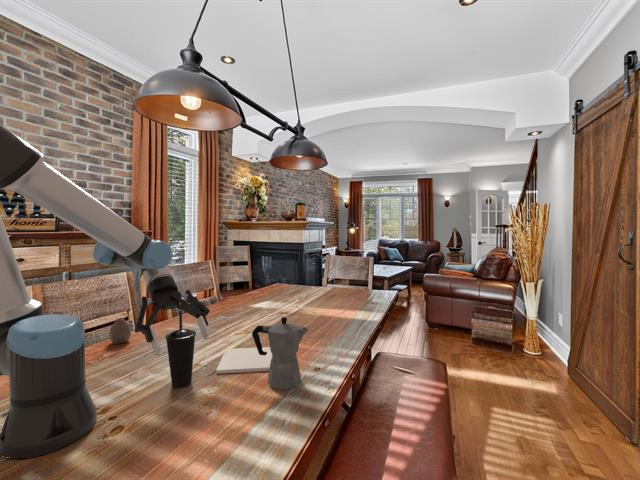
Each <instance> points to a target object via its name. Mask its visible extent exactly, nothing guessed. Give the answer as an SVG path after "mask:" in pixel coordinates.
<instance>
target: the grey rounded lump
mask: <svg viewBox="0 0 640 480" xmlns="http://www.w3.org/2000/svg"><path fill="white" fill-rule="evenodd" d="M131 335H132V328H131V325H130V324H129V322H127V321H126V319H124V318H123V317H121V318H116V319H115V321H114V323H112V325H111V326H110V328H109V331H108V337H109V340H110V342H111V343H113V344H114V345H120V344H121V343H122V344H125V343H127V341H129V339H130V338H131ZM124 342H125V343H124Z"/></svg>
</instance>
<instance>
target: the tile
mask: <svg viewBox="0 0 640 480" xmlns="http://www.w3.org/2000/svg"><path fill="white" fill-rule="evenodd" d="M262 350H263V351H264V352H267V354H266V355H259V353H258V350H257V347H242V348H241V347H239V348H226V349H225V351H224V353H223V355H222V357H221V359H220V361H219V363H218V366H217V367H216V370H215V374H232V373H250V372H251V373H253V372H254V373H255V372H267V371H268V372H269V369H270V363H271V359H272V353H271V350H270V346H262Z"/></svg>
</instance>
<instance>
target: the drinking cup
mask: <svg viewBox="0 0 640 480" xmlns="http://www.w3.org/2000/svg"><path fill="white" fill-rule="evenodd" d="M178 316H179V319H178V321H179V323H178V324H179V328H178V329H174V330H172V331H171V332H169V333H167V334H166V335H165V336H164V339H165V341H166V346H167V347H166V348H167V355H168V364H169V370H170V381H171V387H172V388H175V389H181V388H186V387H188V386H190V385H191V383H192V379H193V366H194V352H195V341H196V340H195V339H196V335H197V331H196V330H193V329H189V328H183V310H179V311H178Z"/></svg>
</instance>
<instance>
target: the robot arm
mask: <svg viewBox="0 0 640 480" xmlns="http://www.w3.org/2000/svg"><path fill="white" fill-rule="evenodd" d="M0 190H11V191H14V192H15V193H17V194H19V195H20V196H22V197H24V198H25V199H27V200H29V201H30V202H32V203H34V204H35V205H37V206H38V207H41V208H42V209H43V210H45V211H47V212H48V213H49V214H52V215H53V216H55V217H56V218H59V219H60V220H62V221H63V222H66V223H67V224H68V225H71V226H72V227H73V228H75V229H77V230H79V231H80V232H82V233H83V234H85V235H87V236H89V237H90V238H92V239H93V240H95V241H97V242H95V244H94V246H93V251H92V255H93V256H92V258H93V260H94V261H95V262H96V263H98V264H101V265H106V266H116V267H122V268H131V269H138V270H140V272H141V275H142V278H143V280H144V283H145V285H146V288H147V291H148V294H149V297H147V296H142V297H141V299H140V301H139V308H140V310H139V314H138V315H137V319H136V323H135V326H134V330H133V331H134V333H136V334H137V333H141V335H144V337H145V338H144V339H145V341H146V342H147V343H148V344H149V343H150V344H151V346H152V349H153V352H154V355H159V354H160V351H161V350H162V346H161V344H160V341H159V339H158V336H157V332H156V330H155V326H152V324H153V323H154V321H155V319H156V317H157V316H158V314H159V313H160V311H161V310H162V311H163V312H166V311H168V310H175V309H178V310H179V311H182V312H185V313H186V314H189V315H190V316H192V317H194V318H196V323H197V325H198V328H199V330H200V332H201V335H202V337H203V339H204V340H205V341H207V340H208V339H209V337H210V336H211V332H210V329H209V322H208V320H207V317H208V315H209V313H210V311H211V310H210V309H209V308H208V307H206V305H204V304H203V303H202V302H201V301H200V300H199V299H198V298H197V297H195V296H194V295H193V294H192V292H191V291H190V289H186V290H185V292H180V291H179V289H178V285H177V283H176V280H175V278H174V275H173V273H172V271H171V269H170V266H169V264H170V262H171V260H172V257H173V251H172V248H171V246H170V245H169V243H167V242H165V241H162V240H158V239H154V238H151V237H150V236H148V235H147V234H145V233H144V232H142V231H141V230H140V229H138V228H137V227H136V226H134V225H132V224H131V223H130V222H128V221H127V220H125V219H124V218H123V217H122V216H120V215H119V214H117V213H116V212H114V211H113V210H112V209H110V208H109V207H108V206H106V205H105V204H103V203H102V202H100V201H99V200H98V199H97V198H95V197H94V196H92V195H91V193H90V194H89V193H88V192H86V190H84V189H83V188H82V187H80V186H79V185H77V184H76V183H75V182H73V181H72V180H70V179H69V178H68V177H66V176H64V175H63V174H61V172H60V171H58V170H56V169H55V168H53V167H52V166H51V165H50V164H48V163H47V162H45V160H44V154H43V153H42V152H41V151H39V150H38V149H37V148H35V147H34V146H32V145H31V144H29V143H28V142H27V141H26V140H24V139H22V137H20V136H19V135H18V134H16V133H14V132H13V131H11V130H10V129H8V128H7V127H5V126H4V125H2V124H0ZM150 304H152V305H153V306H155V308H154V310H153V311H152V312H151V315H150V316H149V318H148V319H147V321H146V323H145V324H143V322H144V318H145V314H146V312H147V308H148V307H149V305H150ZM86 338H87V337H86V331H85V326H84V322H83V321H82V320H81V318H79V317H77V316H76V315H75V316H74V315H70V314H63V313H62V314H57V313H54V314H53V313H52V314H46V313H45V310H44V308H43V304H42V302H41V301H39V300H36V299H33V298H31V297H30V295H29V292H28V289H27V287H26V284H25V280H24V277H23V274H22V272H21V269H20V267H19V263H18V261H17V258H16V255H15V252H14V249H13V245H12V243H11V240H10V237H9V235H8V232H7V230H6V227H5V223H4V221H3V217H2V215H1V214H0V374H3V375H5V376H7V377H8V378H9V379H8V381H9V382H8V383H9V404H10V405H9V410H8V413H7V415H6V418H5V420H4V423H3V426H2V428H1V432H0V454H1V455H2V456H4V457H8V458H9V457H10V458H25V459H30V458H36V457H39V456H43V455H45V454H49V453H51V452H52V453H53V452H55V451H57V450H59V449H62V448H64V447H66V446H68V445H70V444H73V443H74V442H76V441H78V440H79V439H81V438H82V437H83V436H85V435H86V434H88V432H89V431H91V429H93V427H94V426H95V424H96V423H97V407H96V405H95V403H94V401H93V399H92V396H91V394H90V393H89V390H88V389H87V385H86V384H87V383H86V382H87V381H86V378H87V377H86V343H85V342H86ZM1 455H0V456H1ZM2 456H1V457H2ZM4 457H3V458H4Z"/></svg>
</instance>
